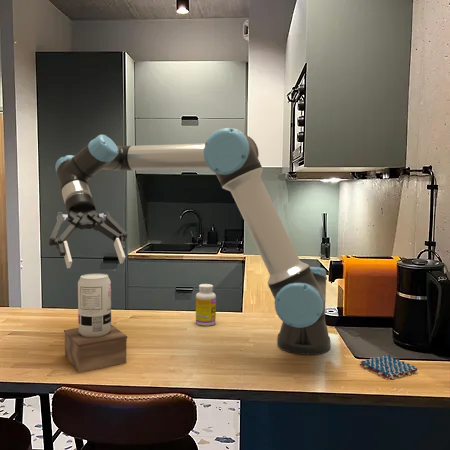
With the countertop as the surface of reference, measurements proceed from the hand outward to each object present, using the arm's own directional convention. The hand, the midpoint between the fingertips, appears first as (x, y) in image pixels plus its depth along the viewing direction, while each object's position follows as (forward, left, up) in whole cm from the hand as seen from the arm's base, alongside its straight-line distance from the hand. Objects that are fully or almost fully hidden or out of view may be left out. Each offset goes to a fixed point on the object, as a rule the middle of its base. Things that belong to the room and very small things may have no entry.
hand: (97, 262), depth 116 cm
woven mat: (-43, -60, -27) cm, 78 cm away
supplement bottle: (+14, -41, -26) cm, 51 cm away
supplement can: (+2, 0, -19) cm, 19 cm away
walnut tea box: (+2, 0, -26) cm, 26 cm away
